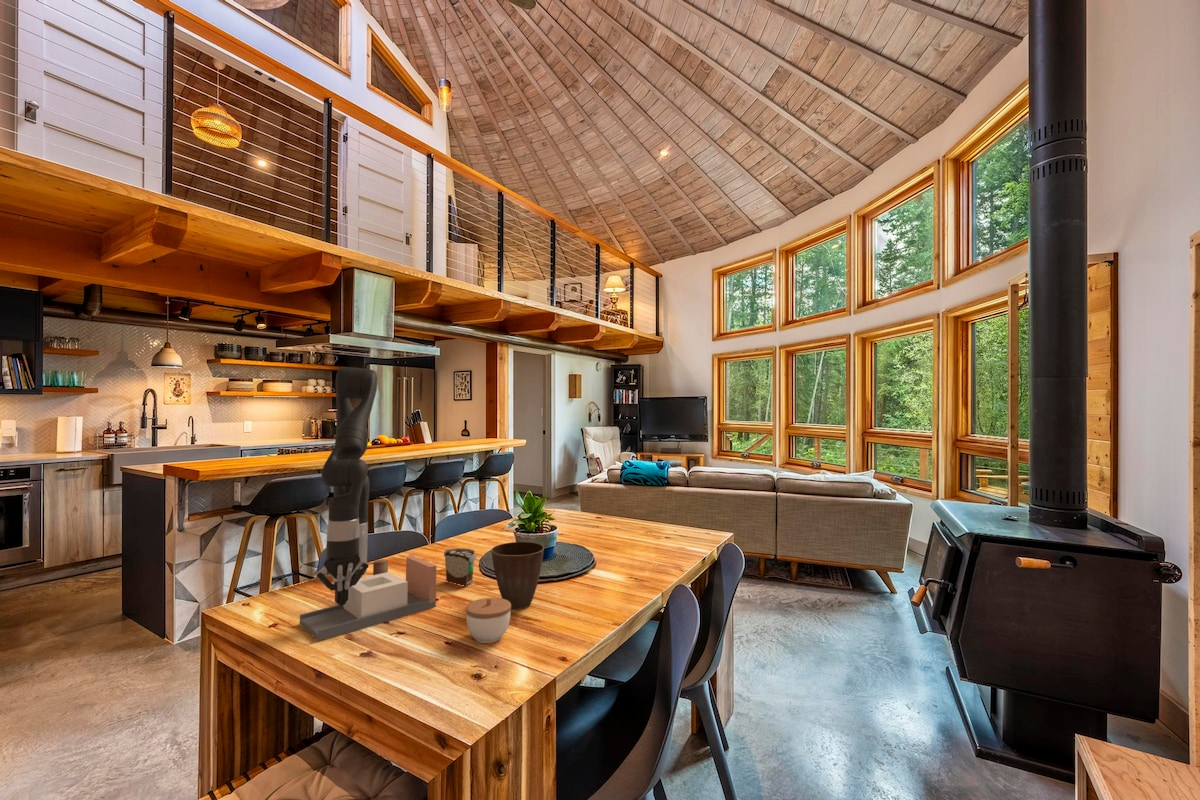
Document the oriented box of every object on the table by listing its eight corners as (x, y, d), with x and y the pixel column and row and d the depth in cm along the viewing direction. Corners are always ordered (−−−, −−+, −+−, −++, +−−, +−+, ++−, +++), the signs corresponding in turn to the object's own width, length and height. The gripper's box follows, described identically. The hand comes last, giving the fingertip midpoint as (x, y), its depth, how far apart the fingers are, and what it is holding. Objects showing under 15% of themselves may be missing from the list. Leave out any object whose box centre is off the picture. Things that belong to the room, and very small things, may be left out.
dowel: (370, 595, 147) (371, 561, 148) (383, 592, 150) (384, 558, 151) (376, 599, 145) (376, 564, 145) (389, 595, 148) (390, 561, 148)
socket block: (343, 608, 133) (344, 581, 134) (387, 596, 142) (388, 572, 142) (361, 620, 125) (362, 592, 125) (407, 607, 134) (407, 581, 134)
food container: (484, 582, 160) (484, 551, 160) (469, 588, 154) (470, 555, 155) (457, 576, 166) (458, 546, 167) (443, 581, 161) (443, 550, 161)
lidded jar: (463, 632, 123) (463, 594, 123) (506, 625, 127) (506, 588, 127) (468, 651, 113) (469, 609, 113) (514, 643, 117) (515, 603, 117)
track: (299, 624, 126) (301, 578, 127) (411, 594, 148) (412, 555, 149) (318, 641, 117) (320, 592, 117) (435, 606, 139) (436, 565, 139)
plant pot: (496, 618, 131) (497, 557, 132) (485, 599, 145) (486, 544, 146) (550, 610, 138) (551, 552, 138) (534, 592, 151) (535, 539, 152)
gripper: (363, 530, 136) (362, 594, 135) (310, 538, 126) (308, 607, 125) (375, 534, 130) (373, 601, 130) (320, 543, 121) (318, 615, 120)
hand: (341, 604), depth 128 cm, fingers closed
